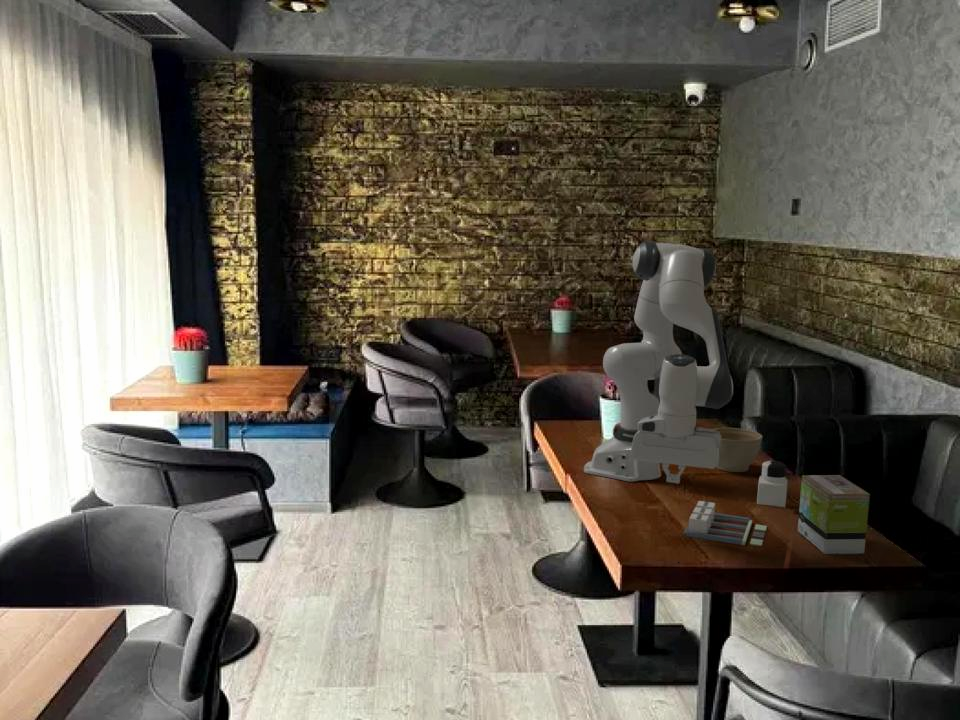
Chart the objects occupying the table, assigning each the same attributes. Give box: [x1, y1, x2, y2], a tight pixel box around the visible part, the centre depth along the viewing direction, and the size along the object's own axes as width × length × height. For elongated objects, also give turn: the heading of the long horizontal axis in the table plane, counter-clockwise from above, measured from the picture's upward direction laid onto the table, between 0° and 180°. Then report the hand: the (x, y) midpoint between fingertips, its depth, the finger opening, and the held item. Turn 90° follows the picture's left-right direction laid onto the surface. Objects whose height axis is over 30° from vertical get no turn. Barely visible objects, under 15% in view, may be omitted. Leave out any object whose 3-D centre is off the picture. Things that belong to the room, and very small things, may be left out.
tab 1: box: [695, 500, 716, 521], centre depth 226 cm, size 4×4×4 cm
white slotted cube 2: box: [692, 506, 712, 528], centre depth 221 cm, size 4×4×4 cm
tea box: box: [797, 474, 871, 555], centre depth 216 cm, size 15×10×15 cm
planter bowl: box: [708, 427, 763, 473], centre depth 279 cm, size 16×16×11 cm
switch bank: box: [682, 512, 768, 547], centre depth 220 cm, size 23×18×2 cm
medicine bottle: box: [756, 460, 788, 508], centre depth 243 cm, size 7×7×12 cm
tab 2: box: [688, 513, 709, 534], centre depth 216 cm, size 4×4×4 cm
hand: (673, 482), depth 217 cm, fingers closed
